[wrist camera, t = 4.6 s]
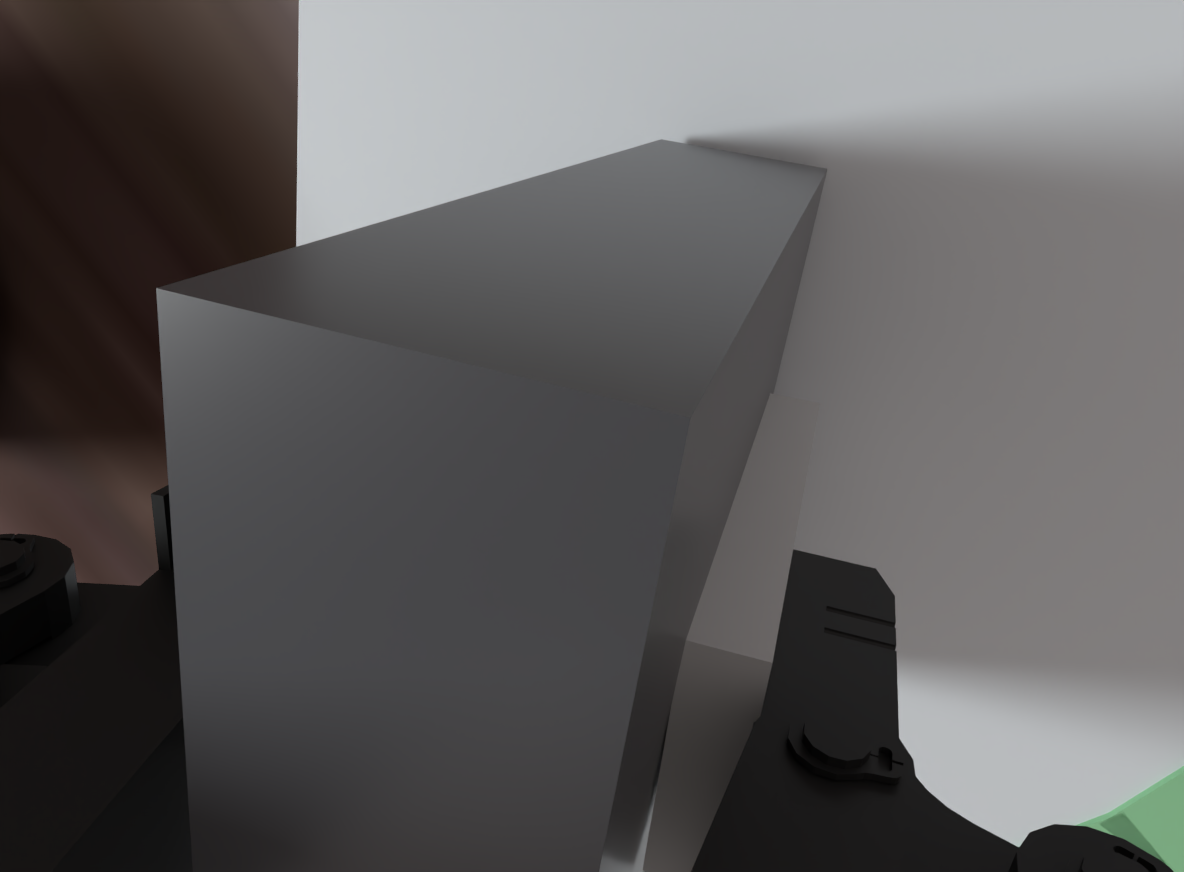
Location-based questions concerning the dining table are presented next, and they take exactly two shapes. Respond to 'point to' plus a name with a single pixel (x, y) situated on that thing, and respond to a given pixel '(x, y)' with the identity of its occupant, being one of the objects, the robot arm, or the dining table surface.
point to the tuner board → (892, 318)
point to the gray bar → (466, 509)
